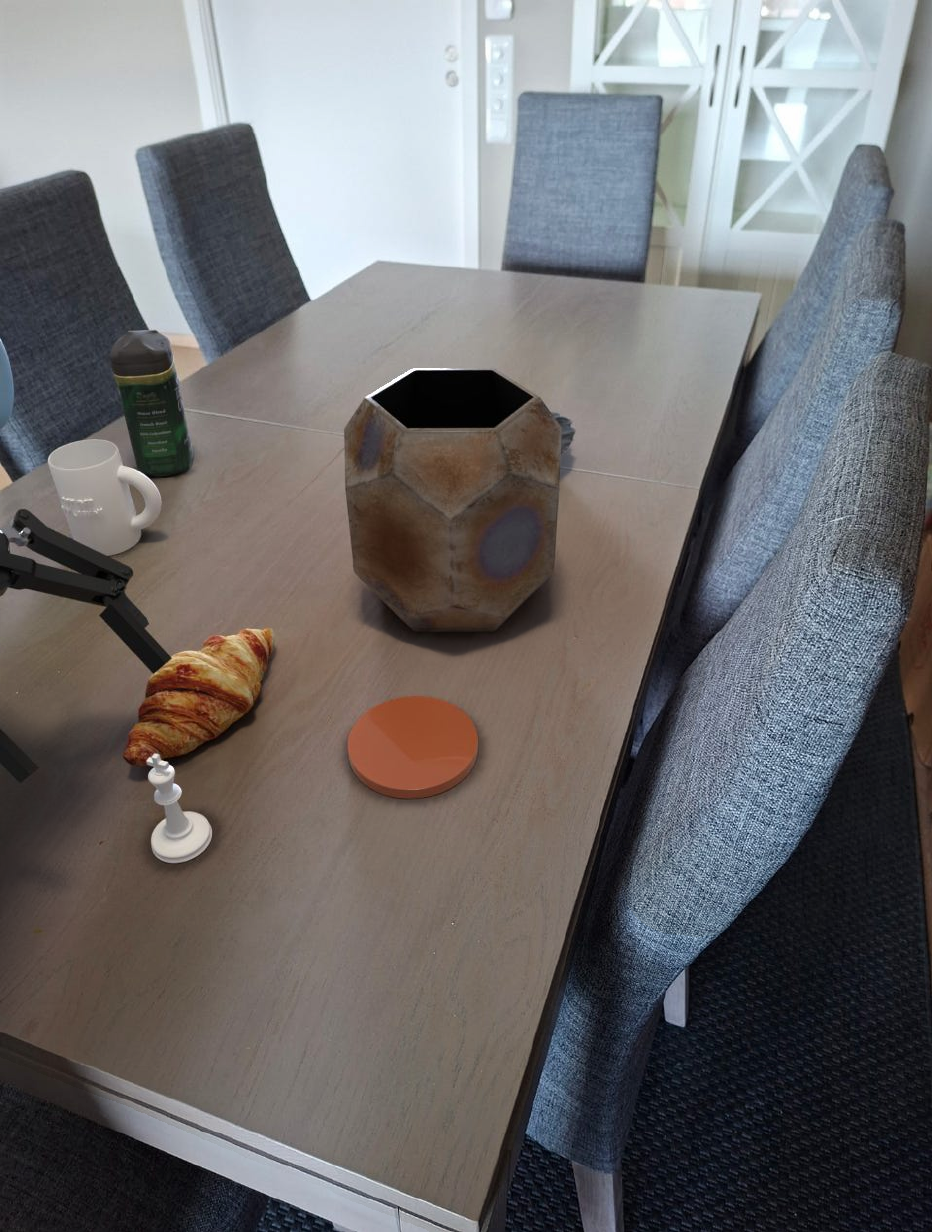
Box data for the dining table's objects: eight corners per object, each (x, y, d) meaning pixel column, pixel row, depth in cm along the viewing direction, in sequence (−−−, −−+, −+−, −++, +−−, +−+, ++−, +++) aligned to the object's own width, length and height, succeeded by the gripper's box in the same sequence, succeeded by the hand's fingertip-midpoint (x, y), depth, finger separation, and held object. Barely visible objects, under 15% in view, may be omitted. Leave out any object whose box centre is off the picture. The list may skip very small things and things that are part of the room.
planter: (348, 659, 92) (324, 454, 77) (370, 535, 111) (354, 352, 96) (559, 659, 91) (574, 453, 77) (544, 535, 111) (554, 351, 96)
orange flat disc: (342, 800, 76) (341, 790, 76) (354, 705, 86) (353, 696, 85) (479, 798, 76) (479, 788, 76) (476, 703, 86) (476, 694, 85)
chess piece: (173, 810, 76) (146, 727, 70) (223, 824, 74) (200, 741, 68) (139, 854, 72) (108, 771, 66) (191, 870, 71) (164, 786, 65)
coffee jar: (193, 476, 124) (164, 347, 113) (135, 481, 123) (100, 352, 112) (197, 445, 131) (171, 322, 120) (143, 450, 130) (111, 326, 119)
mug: (160, 559, 107) (137, 471, 100) (64, 558, 107) (34, 470, 100) (180, 523, 114) (159, 439, 106) (89, 522, 114) (63, 438, 107)
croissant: (255, 662, 96) (216, 602, 94) (319, 649, 91) (280, 584, 88) (121, 795, 81) (69, 728, 78) (189, 789, 75) (136, 716, 72)
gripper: (23, 459, 76) (191, 643, 79) (-284, 615, 58) (-51, 842, 62) (48, 413, 70) (226, 612, 74) (-281, 569, 53) (-27, 820, 56)
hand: (101, 717), depth 68 cm, fingers open, 13 cm apart
